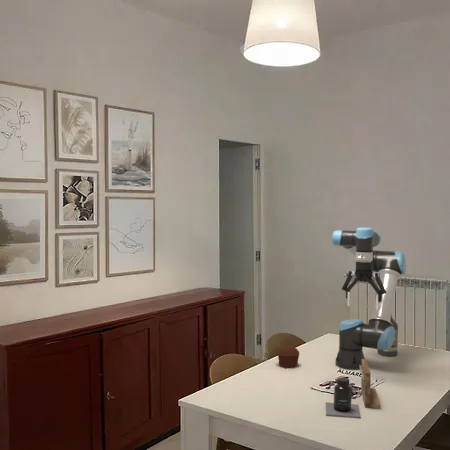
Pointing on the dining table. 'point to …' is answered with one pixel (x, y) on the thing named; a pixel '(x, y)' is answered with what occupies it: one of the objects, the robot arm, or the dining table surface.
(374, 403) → the board
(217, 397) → the dining table surface
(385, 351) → the liquor
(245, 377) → the dining table surface
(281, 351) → the muffin
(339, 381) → the supplement bottle
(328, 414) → the rubber mat
